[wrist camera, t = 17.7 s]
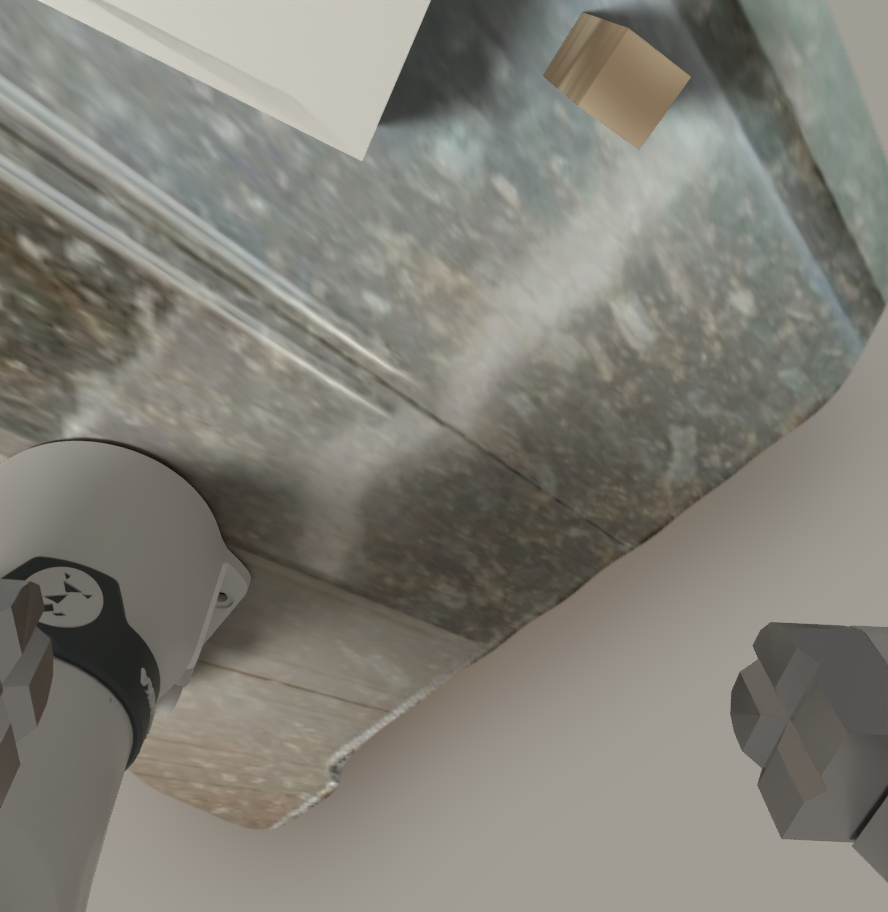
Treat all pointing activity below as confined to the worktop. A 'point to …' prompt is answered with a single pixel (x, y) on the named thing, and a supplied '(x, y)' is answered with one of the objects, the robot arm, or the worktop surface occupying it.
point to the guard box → (276, 53)
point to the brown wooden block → (616, 77)
